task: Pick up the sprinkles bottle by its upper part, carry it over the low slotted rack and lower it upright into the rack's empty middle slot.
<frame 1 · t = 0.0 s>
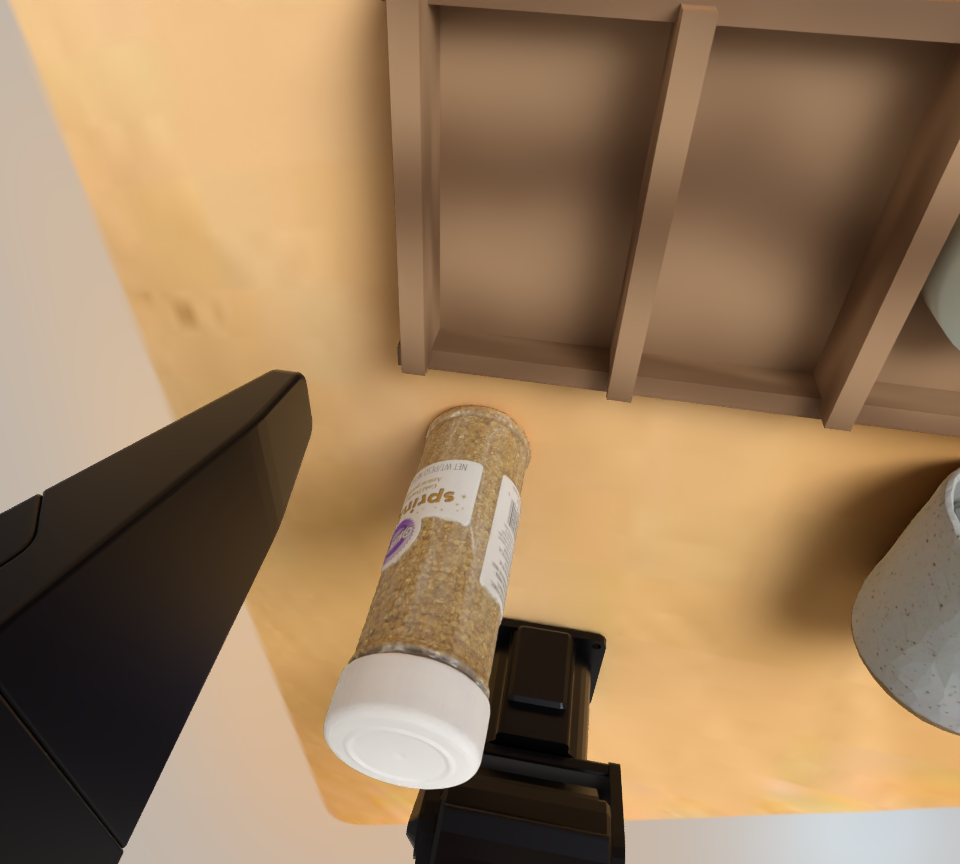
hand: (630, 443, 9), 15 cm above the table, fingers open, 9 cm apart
rack: (764, 213, 21), on the table
sprinkles bottle: (480, 441, 29), on the table
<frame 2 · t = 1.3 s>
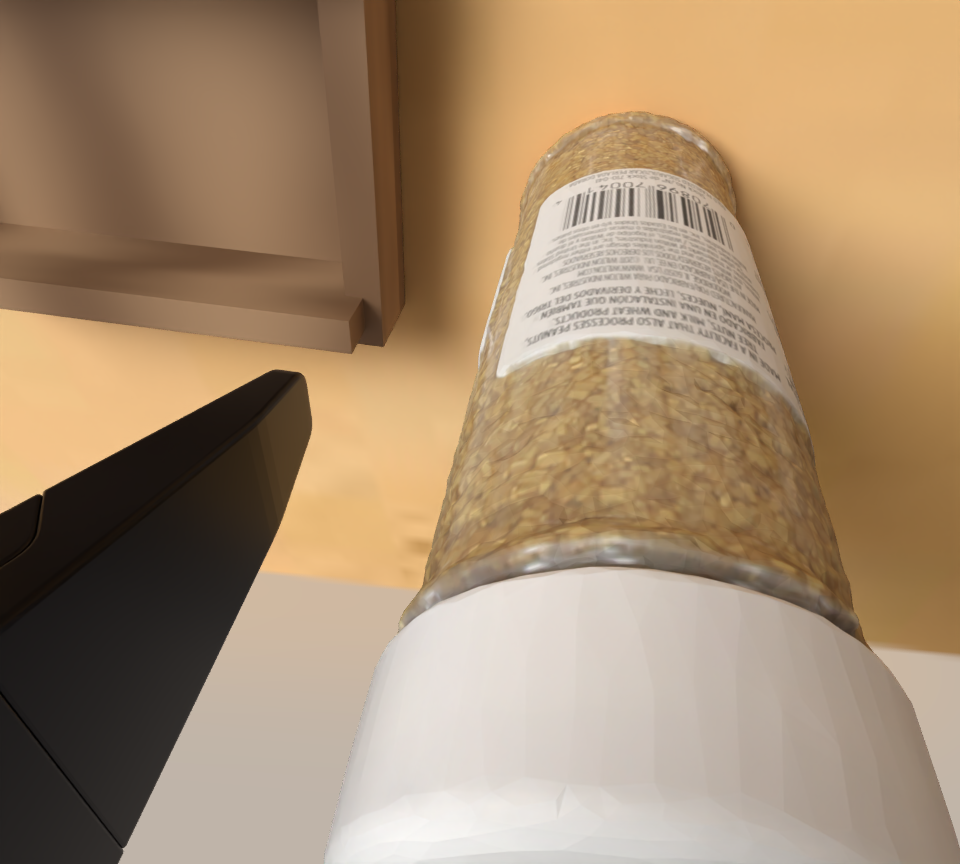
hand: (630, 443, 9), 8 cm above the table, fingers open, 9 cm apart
sprinkles bottle: (626, 212, 15), on the table
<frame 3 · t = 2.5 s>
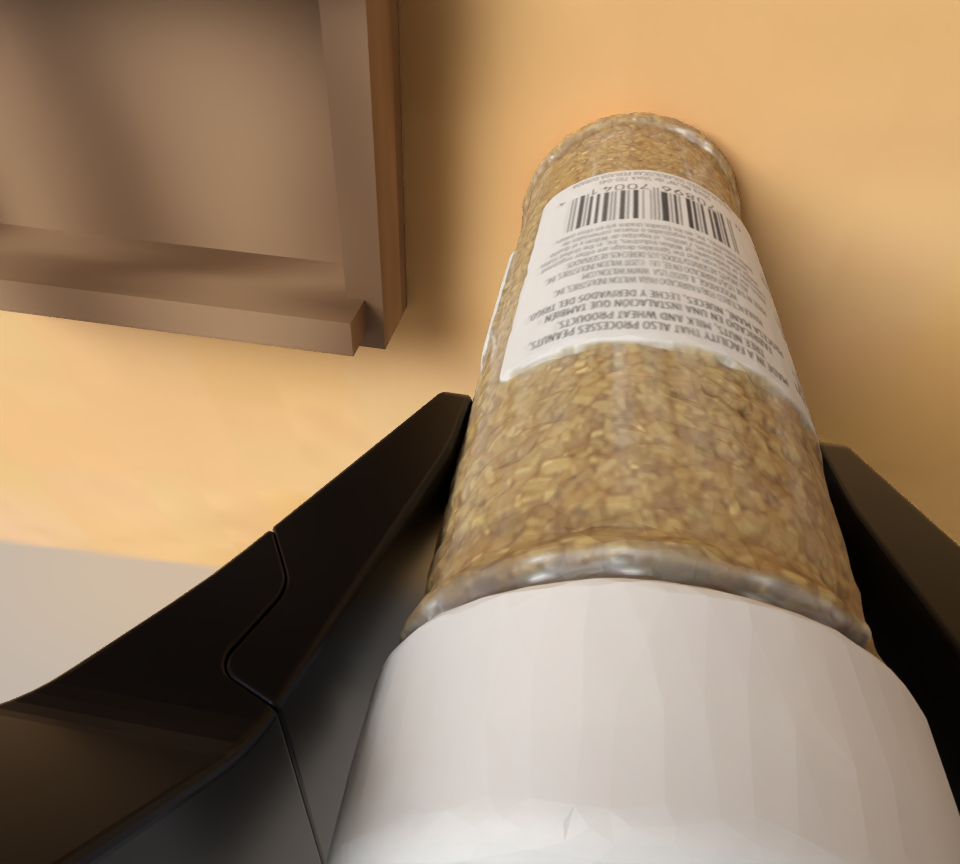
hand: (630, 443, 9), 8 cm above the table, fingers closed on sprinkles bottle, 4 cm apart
sprinkles bottle: (630, 214, 15), on the table, touching gripper
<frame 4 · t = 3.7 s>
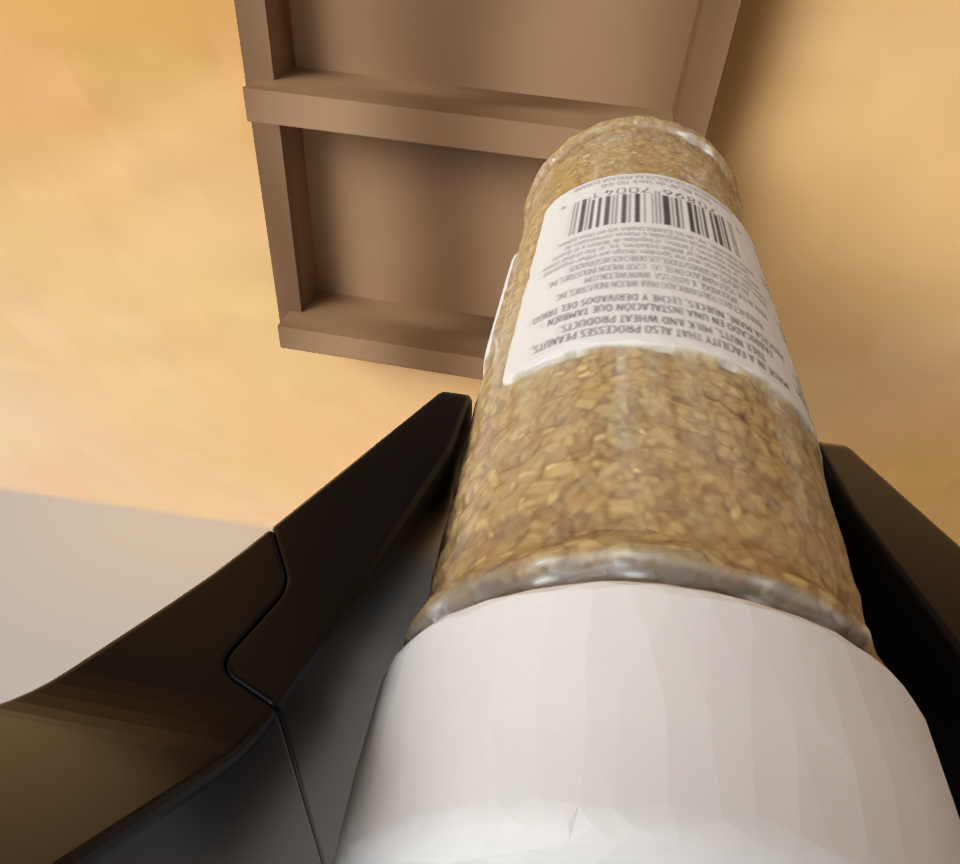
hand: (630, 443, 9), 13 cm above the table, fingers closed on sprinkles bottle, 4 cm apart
sprinkles bottle: (631, 216, 15), point 6 cm above the table, touching gripper
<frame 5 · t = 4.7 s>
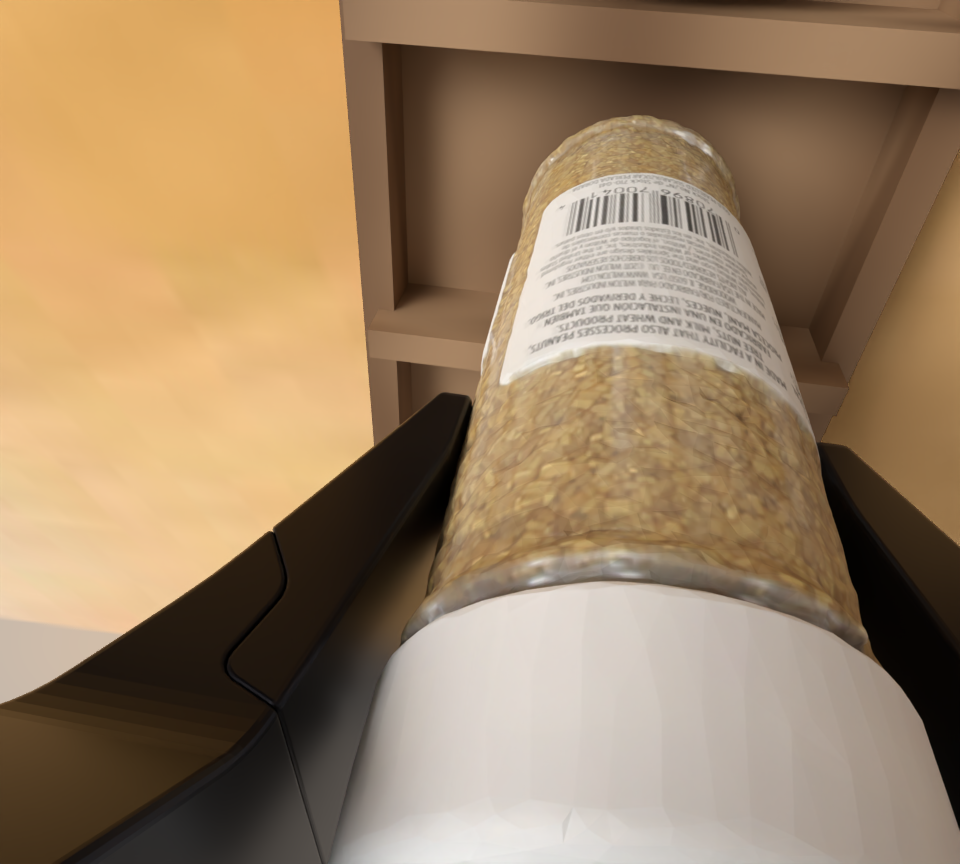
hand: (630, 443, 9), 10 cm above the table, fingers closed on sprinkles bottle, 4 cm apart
rack: (623, 179, 16), on the table
sprinkles bottle: (629, 216, 15), point 2 cm above the table, touching gripper
when the fingers open (9 cm above the table, at t = 5.4 s): sprinkles bottle drops 1 cm, resting on rack.
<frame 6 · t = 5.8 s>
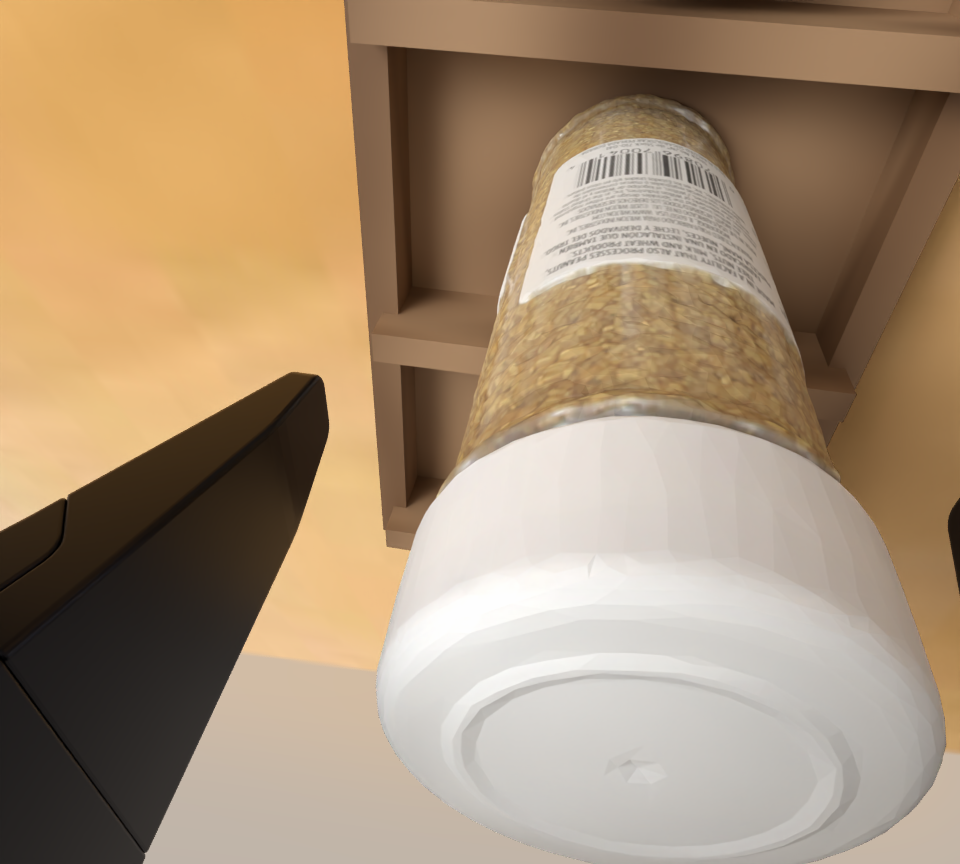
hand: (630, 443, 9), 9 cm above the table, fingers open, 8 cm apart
rack: (629, 183, 16), on the table
sprinkles bottle: (632, 192, 16), resting on rack
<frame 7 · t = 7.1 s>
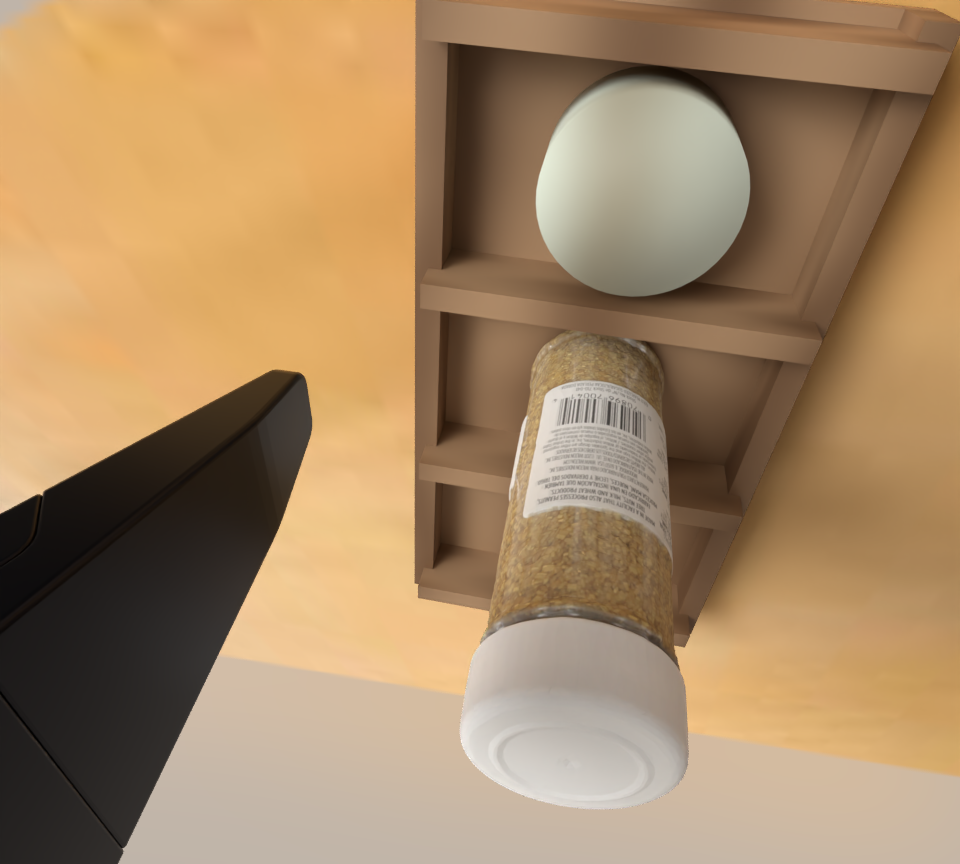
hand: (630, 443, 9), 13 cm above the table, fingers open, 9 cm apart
rack: (596, 366, 24), on the table
sprinkles bottle: (598, 373, 24), resting on rack
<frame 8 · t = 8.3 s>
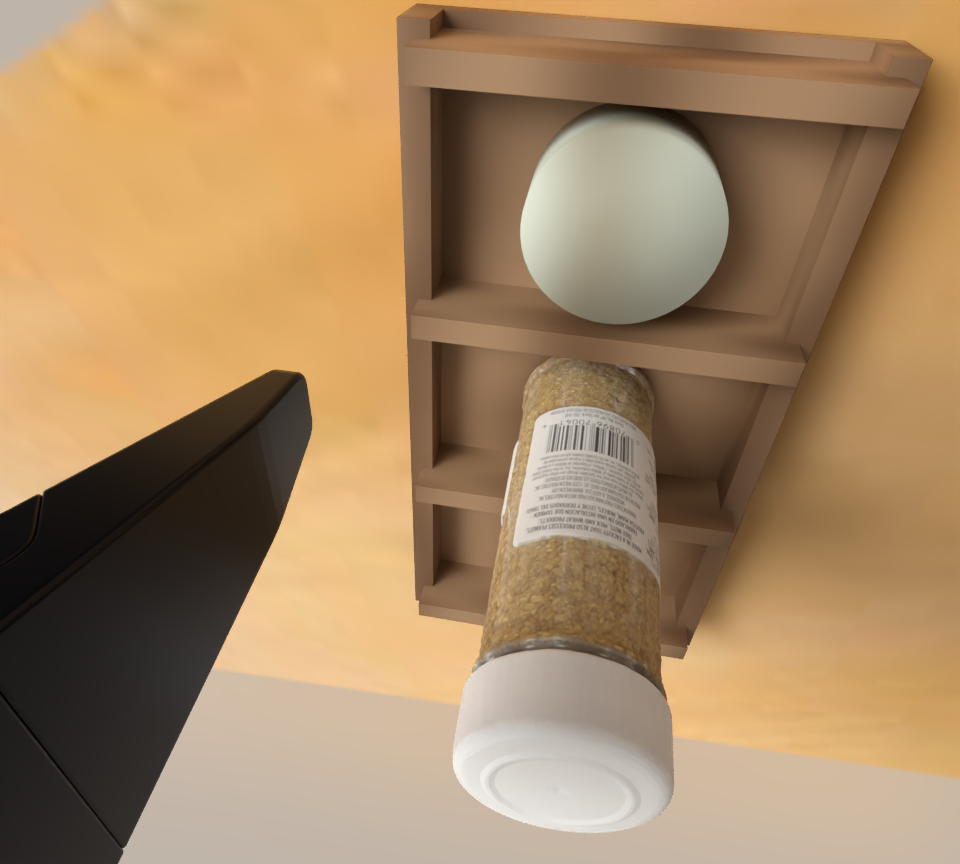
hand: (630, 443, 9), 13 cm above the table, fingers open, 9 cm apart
rack: (588, 387, 24), on the table
sprinkles bottle: (589, 394, 24), resting on rack
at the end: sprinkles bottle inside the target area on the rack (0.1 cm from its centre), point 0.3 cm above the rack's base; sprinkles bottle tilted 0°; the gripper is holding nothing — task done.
